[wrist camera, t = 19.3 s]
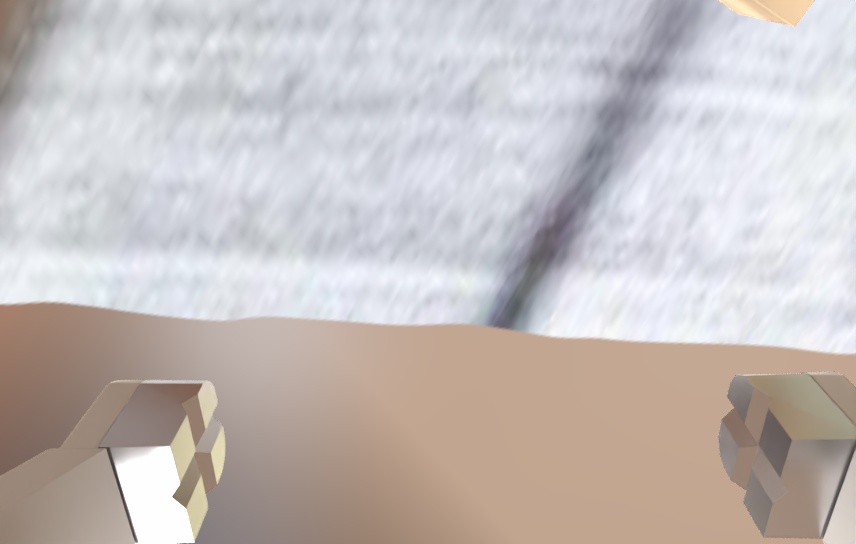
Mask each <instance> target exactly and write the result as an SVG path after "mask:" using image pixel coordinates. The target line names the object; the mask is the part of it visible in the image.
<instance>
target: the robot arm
mask: <svg viewBox="0 0 856 544" xmlns="http://www.w3.org/2000/svg"><path fill="white" fill-rule="evenodd" d="M727 397H728V399H729V401H730V402H731V404H732V405H733V407H734V409H733V410H731V411H730V412H729V413H728V414H727V415H726V416H725V417H724V418H723V419H722V420H721V426H720V432H719V450H720V457H721V460H722V463H723V466H724V468H725V470H726V472H727V474H728V476H729V478H730V480H731V481H733V482H735V483H736V484H737V485H739V486H741V487H742V488H743V489H745V490H746V493H745V497H744V501H743V502H744V505H745V506H746V508H747V510H748V512H749V513H750V515H751V517H752V519H753V521H754V522H755V524H756V526H757V528H758V529H759V531H760V533H761V535H762V536H763V538H812V539H813V538H815V539H823V542H824V543H825V544H856V387H855V386H854V385H853V384H852V383H851V382H850V381H849V380H848V379H847V378H846V377H845V376H844V375H842V374H840V373H838V372H835V371H831V372H830V371H829V372H806V373H801V374H760V375H735V377H734V378H733V380H732V381H731V383H730V387H729V390H728V395H727ZM217 404H218V400H217V396H216V392H215V388H214V385H213V384H212V383H211V382H210V381H209V380H207V381H206V380H146V381H145V380H116V381H113V382H110V383H108V384H107V385H106V387H105V388H104V389H103V391H102V392H101V393H100V395H99V396H98V397H97V399H96V400H95V401H94V403H93V404H92V405H91V407H90V408H89V410H88V411H87V412H86V413H85V415H84V416H83V417H82V419H81V420H80V421H79V423H78V424H77V425H76V427H75V428H74V429H73V431H72V432H71V434H70V435H69V436H68V438H67V439H66V440H65V442H64V443H63V444H62V446H61V447H60V448H59V449H48V450H46V451H44V452H42V453H41V454H39V455H37V456H35V457H34V458H32V459H30V460H28V461H26V462H25V463H23V464H21V465H19V466H17V467H16V468H14V469H12V470H11V471H8V472H7V473H5V474H3V475H2V476H0V544H162V543H190V542H195V539H196V537H197V534H198V532H199V529H200V527H201V524H202V522H203V519H204V517H205V514H206V512H207V509H208V503H207V499H206V493H207V492H209V491H210V490H211V489H213V488H214V487H215V486H217V484H218V481H219V479H220V476H221V474H222V471H223V465H224V458H225V435H224V430H223V425H222V424H221V423H220V422H219V421H218V420H217V419H216V418H215V417H213V416H212V414H213V412H214V410H215V408H216V406H217Z"/></svg>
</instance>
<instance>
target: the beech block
mask: <svg viewBox="0 0 856 544" xmlns="http://www.w3.org/2000/svg"><path fill="white" fill-rule="evenodd" d="M718 1H719V2H721V3H722V4H724V5H725V6H727V7H728V8H730V9H731V10H733V11H734V12H736V13H737V14H740V15H745V16H749V17H754V18H758V19H763V20H767V21H772V22H776V23H781V24H785V25H790V26H794V27H795V26H796V24H797V23H798V22H799V21H800V19H801V18H802V17H803V15H804V14H805V13H806V11H807V10H808V9H809V7H810V6H811V5H812V3H813V2H814V1H815V0H718Z"/></svg>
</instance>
